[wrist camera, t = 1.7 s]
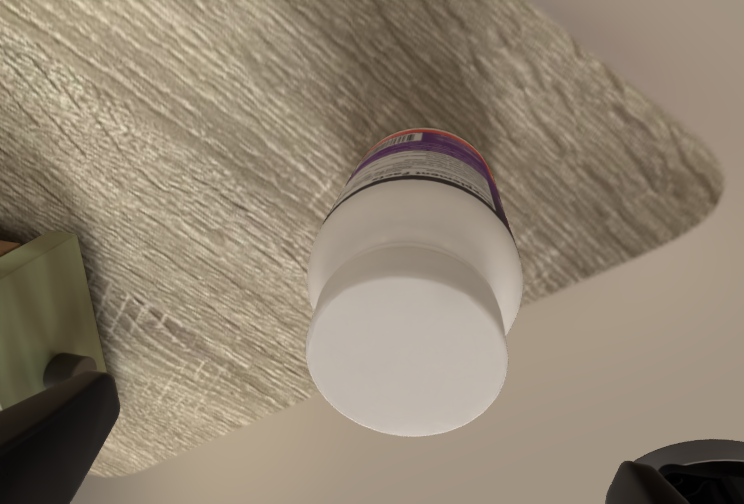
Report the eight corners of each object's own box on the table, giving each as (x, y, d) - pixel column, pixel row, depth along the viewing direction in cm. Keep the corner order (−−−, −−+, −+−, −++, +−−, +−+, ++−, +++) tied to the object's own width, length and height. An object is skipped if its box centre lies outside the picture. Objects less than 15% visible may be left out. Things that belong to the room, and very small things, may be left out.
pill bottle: (467, 275, 19) (486, 490, 10) (339, 238, 19) (252, 421, 10) (518, 147, 16) (601, 289, 8) (371, 105, 16) (292, 200, 8)
